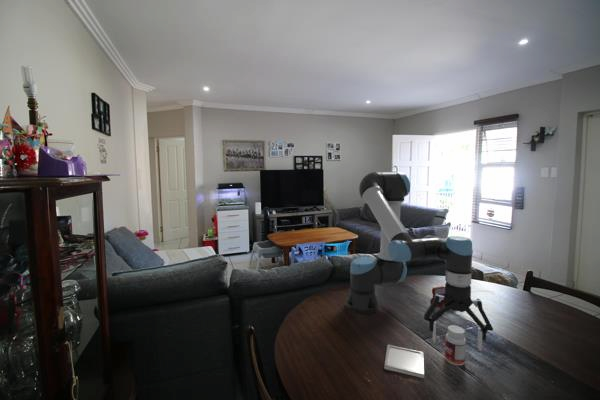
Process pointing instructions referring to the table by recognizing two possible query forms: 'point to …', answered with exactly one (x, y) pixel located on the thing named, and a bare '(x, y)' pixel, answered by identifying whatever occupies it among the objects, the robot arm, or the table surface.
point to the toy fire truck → (440, 292)
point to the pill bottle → (455, 345)
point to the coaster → (404, 361)
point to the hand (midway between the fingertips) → (456, 344)
